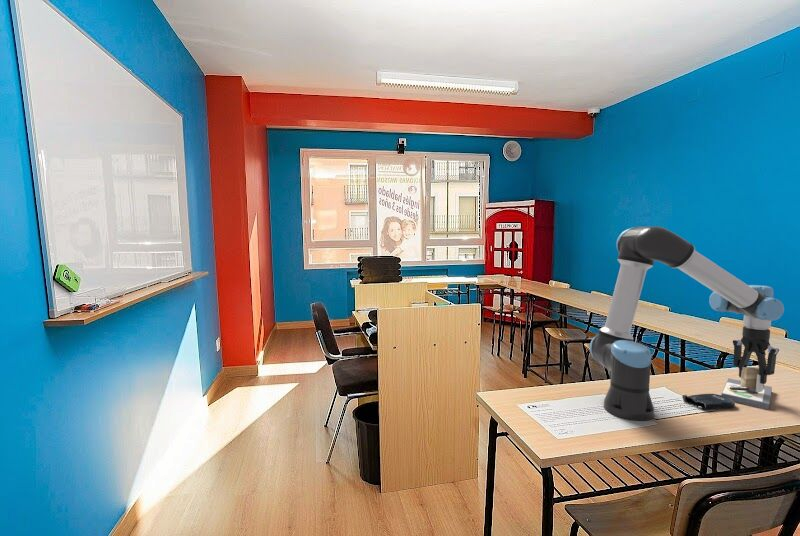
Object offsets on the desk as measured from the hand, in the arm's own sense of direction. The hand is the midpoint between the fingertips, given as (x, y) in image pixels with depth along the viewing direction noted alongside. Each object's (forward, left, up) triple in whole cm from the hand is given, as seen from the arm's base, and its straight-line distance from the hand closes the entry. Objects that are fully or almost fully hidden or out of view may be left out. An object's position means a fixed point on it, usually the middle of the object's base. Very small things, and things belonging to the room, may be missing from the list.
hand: (751, 388), depth 147 cm
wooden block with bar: (-2, 0, -1) cm, 2 cm away
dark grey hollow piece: (-17, -11, -4) cm, 21 cm away
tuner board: (0, +3, -3) cm, 4 cm away
